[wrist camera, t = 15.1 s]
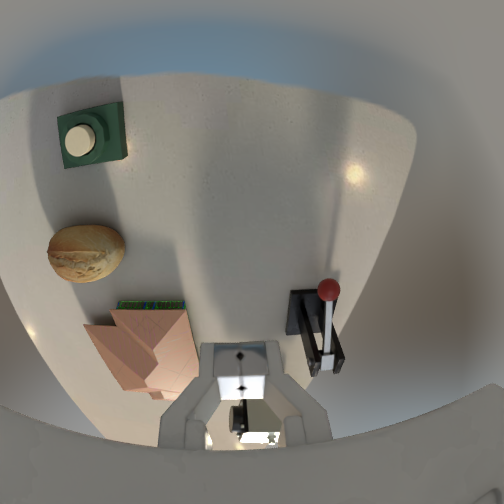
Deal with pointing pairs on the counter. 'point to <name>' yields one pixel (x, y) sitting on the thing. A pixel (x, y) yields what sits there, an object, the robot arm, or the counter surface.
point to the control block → (96, 134)
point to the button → (80, 140)
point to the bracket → (312, 327)
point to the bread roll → (85, 252)
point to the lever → (327, 320)
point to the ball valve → (254, 421)
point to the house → (148, 349)
